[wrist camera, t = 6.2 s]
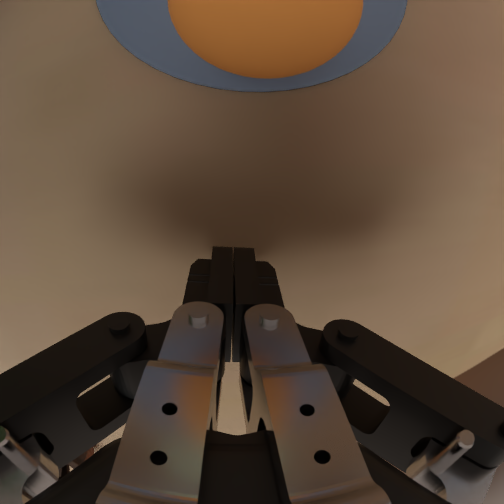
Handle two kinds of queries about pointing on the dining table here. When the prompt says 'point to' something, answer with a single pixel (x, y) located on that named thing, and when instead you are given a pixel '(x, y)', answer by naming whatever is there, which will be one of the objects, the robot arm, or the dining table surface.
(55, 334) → the dining table surface
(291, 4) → the ball
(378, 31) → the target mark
